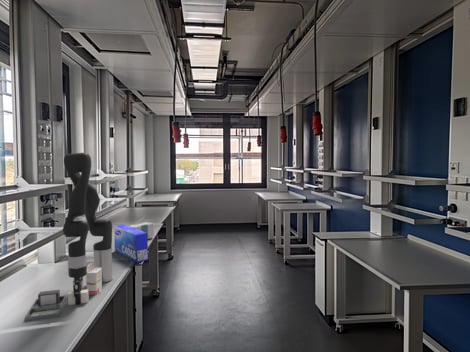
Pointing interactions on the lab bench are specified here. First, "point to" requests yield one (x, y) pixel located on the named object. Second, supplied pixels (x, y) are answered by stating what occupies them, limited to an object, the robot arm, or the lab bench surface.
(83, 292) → the block
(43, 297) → the block
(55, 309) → the tray with compartments
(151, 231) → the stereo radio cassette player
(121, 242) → the toner cartridge box
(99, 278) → the ink cartridge box
